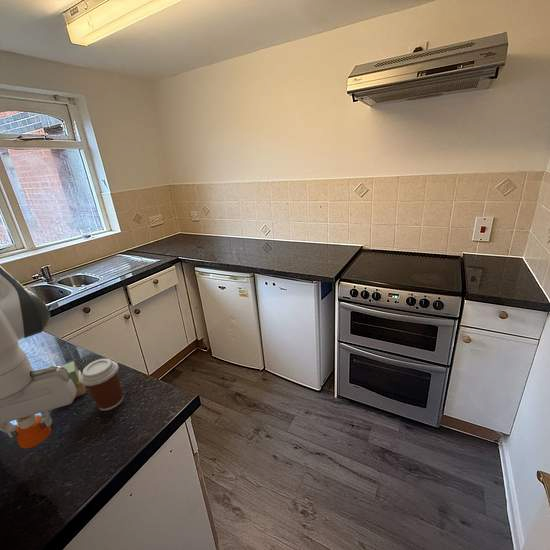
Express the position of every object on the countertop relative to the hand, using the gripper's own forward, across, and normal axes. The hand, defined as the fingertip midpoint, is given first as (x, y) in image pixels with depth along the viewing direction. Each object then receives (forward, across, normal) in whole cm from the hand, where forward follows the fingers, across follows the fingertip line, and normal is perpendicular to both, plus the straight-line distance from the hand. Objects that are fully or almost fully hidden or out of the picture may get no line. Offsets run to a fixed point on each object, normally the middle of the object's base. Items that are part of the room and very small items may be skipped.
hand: (31, 429), depth 64 cm
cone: (+2, 0, 0) cm, 2 cm away
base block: (+9, +1, -24) cm, 25 cm away
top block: (+5, +1, -24) cm, 24 cm away
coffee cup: (+9, -11, -14) cm, 20 cm away
